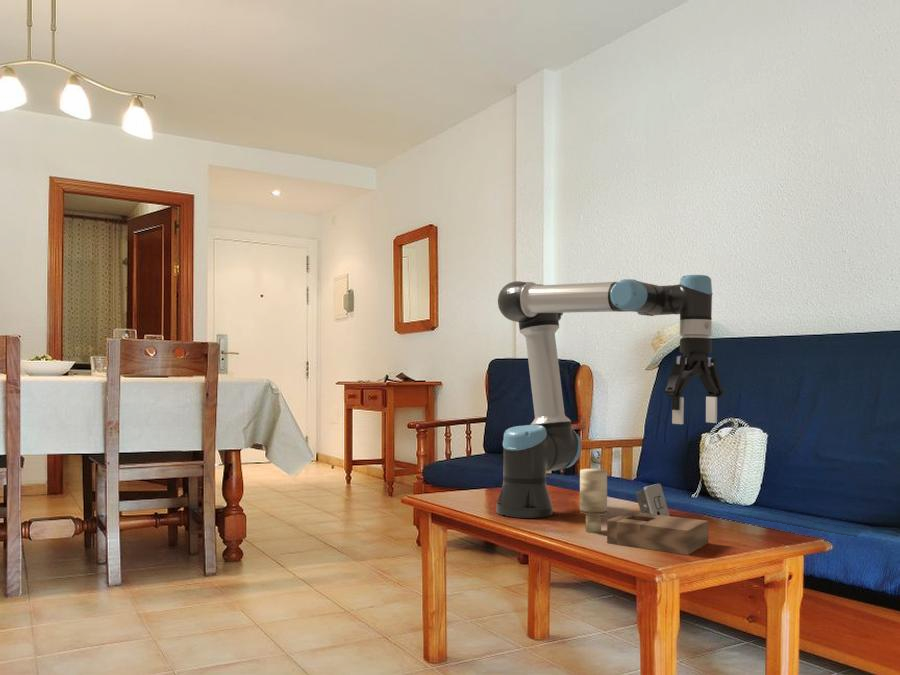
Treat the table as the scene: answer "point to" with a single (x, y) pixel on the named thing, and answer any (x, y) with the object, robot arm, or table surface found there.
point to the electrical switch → (652, 500)
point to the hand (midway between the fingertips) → (694, 423)
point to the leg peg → (593, 497)
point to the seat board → (658, 532)
